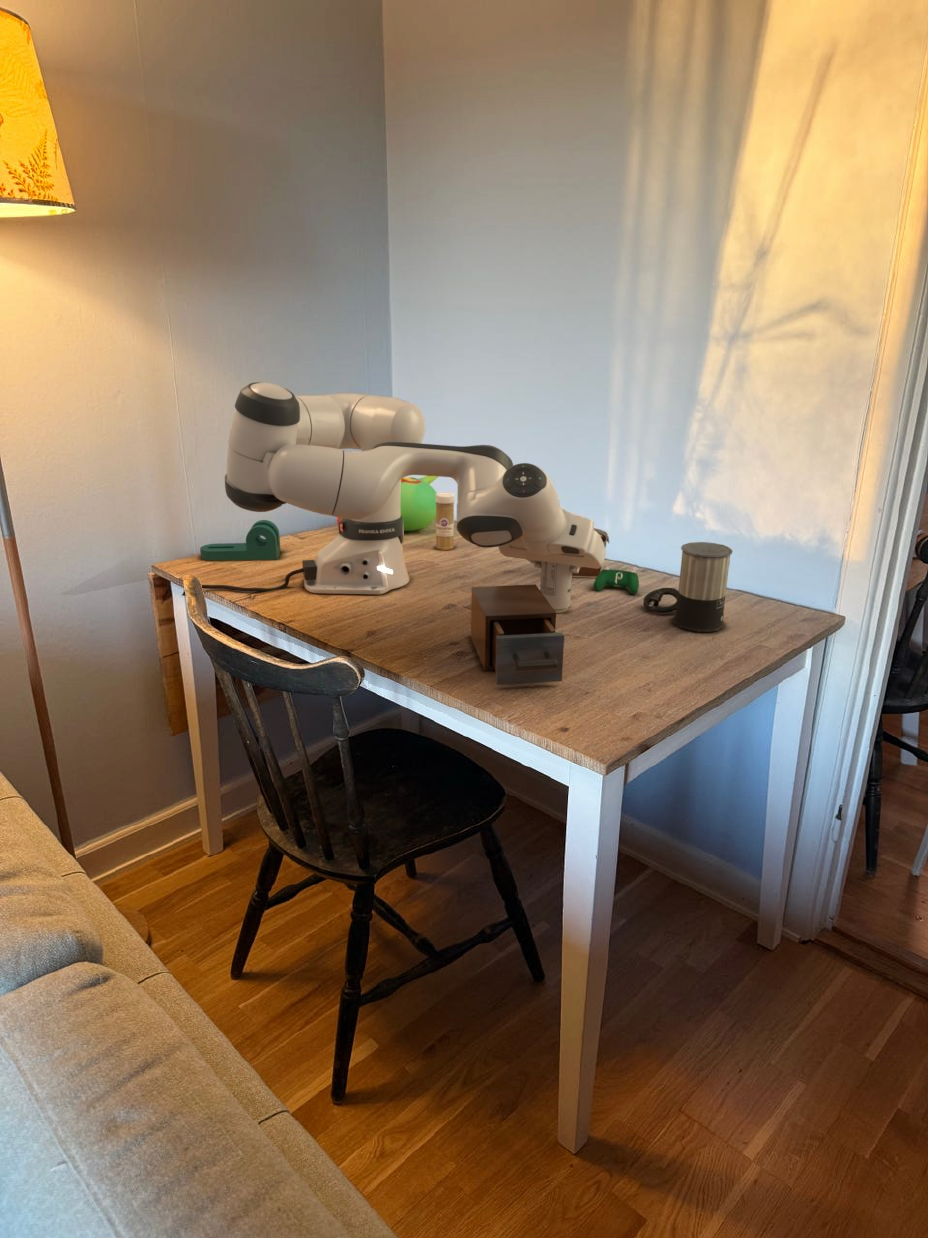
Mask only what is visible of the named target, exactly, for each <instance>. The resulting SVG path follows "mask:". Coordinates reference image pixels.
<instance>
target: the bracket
mask: <svg viewBox="0 0 928 1238" xmlns="http://www.w3.org/2000/svg"><path fill="white" fill-rule="evenodd" d="M262 537H263V538H262ZM199 552H200V558H201V560H203V561H209V562H217V561H218V562H219V561H220V562H223V561H226V562H228V561H229V562H230V561H277V560H278V558H279V556H280V554H281V552H282V551H281V537H280V530H279V528H278V526H277V525H276V524H275V523H274V522H273V521H270V520H267V519H260V520H258V521H256V522H254V523H253V525H252V526H251V528H250V529H249V531H248V533H247V534H246V537H245V542H240V543H239V542H228V543H227V542H225V543H209V544H205V545H202V546H200V548H199Z"/></svg>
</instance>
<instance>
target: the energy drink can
mask: <svg viewBox="0 0 928 1238" xmlns="http://www.w3.org/2000/svg"><path fill="white" fill-rule="evenodd" d="M569 568H570V565H566V564H558V563H551V562H543V561H541V568H540V583H539V586H540V587H539V590H540V591H541V592H542V594H543V595H544V597H545V598H546V599H547V601H548V602H549V603H550V605H551V606H552V608H553V609H554V610H555V612H556V614H560V613H565V612H567V610H568V608H569V607H571V601H572V600H571V599H572V584H573V583H572V581H573V577H572V572H571V571H570V569H569Z"/></svg>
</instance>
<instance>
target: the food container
mask: <svg viewBox="0 0 928 1238" xmlns="http://www.w3.org/2000/svg"><path fill="white" fill-rule="evenodd" d="M593 530H595V531H596V532H597V533H598V534H599V535H600V537H601V539H602V541H603V543H604V546H605V549H607V543H608V544H610V537H609V534H608V533H607V532H606V530H603V529H600V528H596V527H594V529H593ZM602 570H603V566H602V567H600V568H598V569H596V568H589V567H581V566H580V569H579V572H578V573H573V572H572V578H588V579H589V578H591V579H592V578H593V579H596V578H597V576H598V575H599V574H600V572H601V571H602Z"/></svg>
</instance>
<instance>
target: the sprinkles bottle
mask: <svg viewBox="0 0 928 1238" xmlns="http://www.w3.org/2000/svg"><path fill="white" fill-rule="evenodd" d="M436 493H437V494H436V518H435V540H436V541H435V548H436V549H437V550H441V551H448V550H452V549H454V547H455V545H454V544H455V542H454V537H455V536H454V535H455V512H454V511H455V508H454V507H455V494H454V493H452V492H436Z"/></svg>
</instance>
